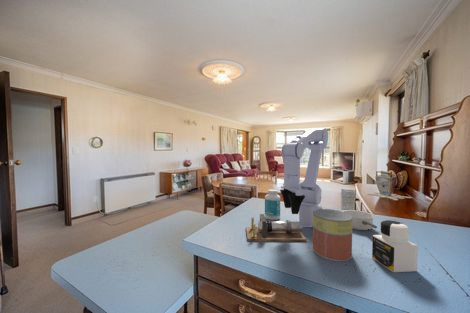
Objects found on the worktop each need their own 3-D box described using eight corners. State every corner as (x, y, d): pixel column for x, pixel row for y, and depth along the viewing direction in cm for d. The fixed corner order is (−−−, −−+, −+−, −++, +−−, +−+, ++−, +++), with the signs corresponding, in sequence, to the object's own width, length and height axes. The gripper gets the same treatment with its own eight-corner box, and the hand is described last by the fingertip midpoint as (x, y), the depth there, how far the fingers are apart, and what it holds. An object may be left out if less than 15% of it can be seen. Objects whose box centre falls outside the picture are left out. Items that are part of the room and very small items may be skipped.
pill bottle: (280, 221, 88) (280, 192, 87) (264, 220, 89) (264, 191, 89) (279, 215, 95) (280, 189, 95) (264, 214, 96) (265, 188, 96)
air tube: (298, 230, 75) (298, 218, 75) (302, 235, 71) (302, 222, 70) (257, 229, 75) (257, 218, 75) (259, 234, 71) (259, 222, 71)
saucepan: (357, 240, 69) (357, 225, 69) (338, 221, 89) (338, 209, 89) (393, 243, 67) (393, 227, 67) (365, 222, 86) (365, 210, 86)
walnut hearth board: (296, 229, 78) (296, 227, 78) (306, 241, 67) (306, 239, 67) (246, 228, 78) (246, 226, 78) (247, 241, 67) (247, 238, 67)
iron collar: (263, 228, 77) (263, 214, 77) (266, 237, 69) (266, 221, 69) (259, 228, 77) (259, 214, 77) (262, 237, 69) (262, 221, 69)
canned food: (344, 244, 65) (345, 210, 65) (358, 263, 54) (359, 221, 54) (309, 241, 68) (310, 208, 67) (316, 258, 57) (317, 218, 56)
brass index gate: (254, 228, 77) (254, 216, 77) (256, 237, 69) (257, 224, 69) (250, 228, 77) (250, 216, 77) (251, 237, 69) (252, 224, 69)
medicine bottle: (371, 258, 57) (372, 218, 57) (393, 257, 58) (394, 218, 57) (393, 273, 50) (394, 227, 50) (418, 271, 51) (419, 227, 50)
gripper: (276, 172, 78) (275, 205, 79) (288, 176, 64) (287, 217, 64) (292, 172, 79) (292, 205, 79) (308, 177, 64) (307, 216, 65)
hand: (291, 210), depth 72 cm, fingers open, 7 cm apart
